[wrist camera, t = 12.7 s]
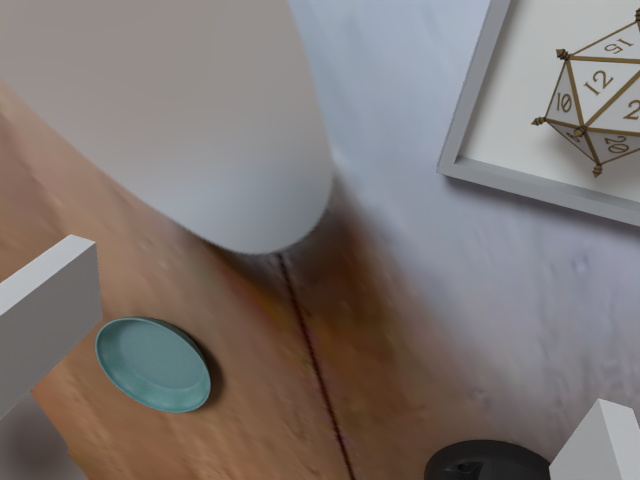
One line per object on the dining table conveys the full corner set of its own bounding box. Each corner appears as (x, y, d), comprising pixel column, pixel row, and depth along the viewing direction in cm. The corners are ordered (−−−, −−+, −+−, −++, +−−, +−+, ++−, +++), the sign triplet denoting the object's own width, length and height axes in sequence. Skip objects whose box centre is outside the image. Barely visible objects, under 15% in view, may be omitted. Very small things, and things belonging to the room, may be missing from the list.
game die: (619, 76, 35) (733, 164, 29) (509, 131, 36) (597, 229, 30) (639, -45, 28) (794, 37, 22) (502, 27, 29) (615, 126, 23)
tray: (676, 220, 37) (691, 240, 34) (438, 158, 39) (436, 172, 36) (844, -38, 28) (882, -37, 25) (522, -99, 30) (527, -104, 27)
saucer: (120, 383, 65) (108, 399, 62) (97, 293, 57) (82, 307, 55) (224, 408, 62) (214, 425, 59) (214, 316, 54) (203, 332, 52)
